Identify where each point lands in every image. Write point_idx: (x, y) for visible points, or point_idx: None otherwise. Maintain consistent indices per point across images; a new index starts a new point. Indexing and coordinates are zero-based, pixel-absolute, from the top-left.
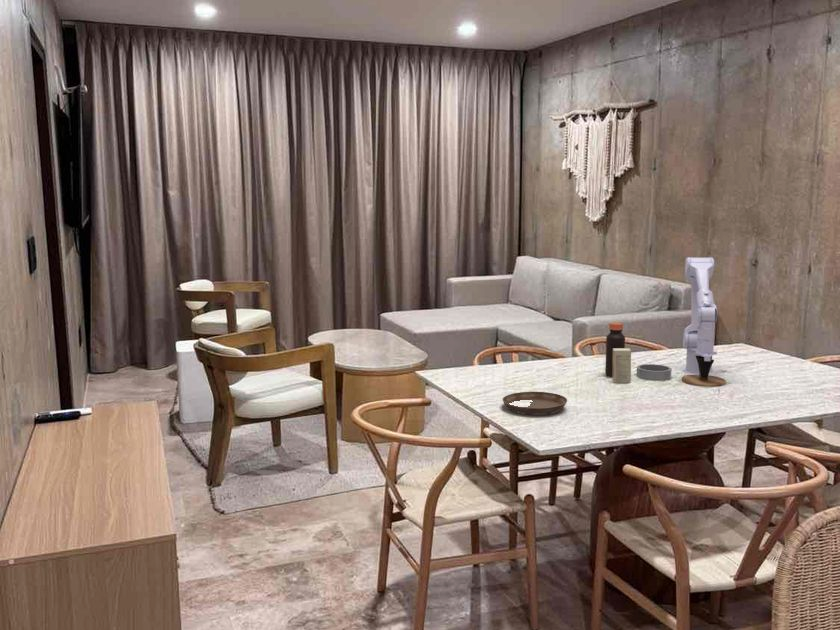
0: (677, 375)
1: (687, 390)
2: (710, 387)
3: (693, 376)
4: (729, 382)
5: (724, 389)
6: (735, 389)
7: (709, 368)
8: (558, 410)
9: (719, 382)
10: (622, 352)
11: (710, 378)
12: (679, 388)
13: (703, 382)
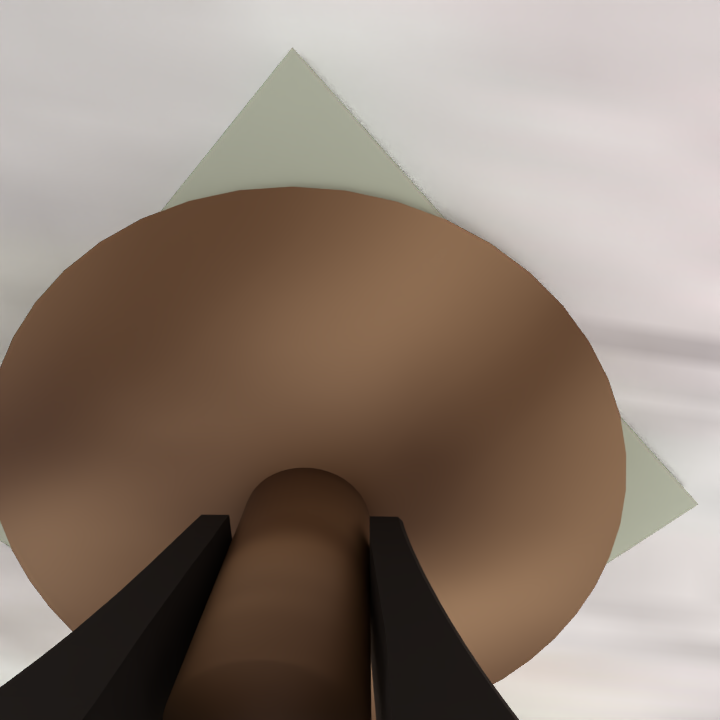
0: (2, 682)
1: (688, 666)
2: (657, 459)
3: None
4: (278, 105)
5: (656, 258)
6: (661, 62)
7: (488, 688)
8: None
9: (479, 322)
10: None
11: (215, 421)
12: (600, 716)
13: (500, 542)
